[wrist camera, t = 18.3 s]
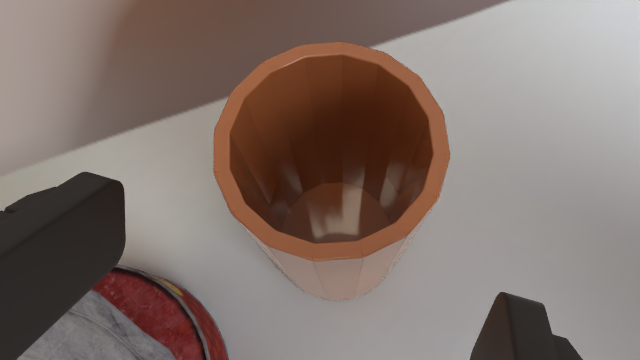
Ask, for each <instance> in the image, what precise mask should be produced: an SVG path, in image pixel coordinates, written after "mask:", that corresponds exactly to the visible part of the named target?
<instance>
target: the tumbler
mask: <svg viewBox="0 0 640 360" xmlns="http://www.w3.org/2000/svg"><path fill="white" fill-rule="evenodd" d="M449 160H450V150H449V144H448V137H447V131H446V125H445V119H444V114H443V112H442V110H441V108H440V107H439V105H438V104H437V102H436V101H435V99H434V98H433V96H432V94H431V93H430V91H429V90H428V88H427V87H426V85H425V84H424V82H423V81H422V79H421V78H420V77H419V76H418V75H417V74H415V73H414V72H412V71H411V70H409V69H408V68H407V67H405V66H404V65H402V64H401V63H400V62H398V61H397V60H395V59H394V58H392V57H391V56H390V55H388V54H387V53H384V52H382V51H378V50H374V49H370V48H367V47H363V46H359V45H355V44H352V43H348V42H331V43H318V44H306V45H302V46H297V47H295V48H293V49H291V50H288V51H286V52H284V53H282V54H280V55H277V56H275V57H273V58H270V59H268V60H266V61H264V62H263V63H261V64H260V65H259V66H257V68H256V69H254V70H253V72H251V73H250V74H249V75H248V76H247V77H246V78H245V79H244V80H243V81H242V82H241V83H240V84H239V85H238V86H237V87H236V88H235V89H234V90H233V91H232V93H231V94H230V96H229V98H228V101H227V103H226V105H225V107H224V109H223V112H222V114H221V116H220V118H219V121H218V123H217V125H216V127H215V131H214V171H213V172H214V176H215V178H216V180H217V183H218V185H219V187H220V190H221V192H222V194H223V196H224V199H225V201H226V203H227V206H228V208H229V210H230V212H231V214H232V215H233V216H234V217H235V219H236V220H237V221H238V222H239V223H240V224H241V225H242V227H243V228H244V229H245V230H246V231H247V232H248V233H249V235H250V236H251V237H252V238H253V239H254V240H255V241H256V242H257V244H258V245H259V246H260V247H261V248H262V249H263V250H264V252H265V253H266V254H267V255H268V256H269V257H270V258H271V260H272V261H273V262H274V263H275V264H276V265H277V266H278V267H279V269H280V270H281V271H282V272H283V273H284V274H285V275H286V276H287V277H288V278H289V279H290V280H291V281H292V282H293V283H294V284H295V285H297V286H298V287H299V288H300V289H301V290H302V291H304V292H306V293H308V294H311V295H313V296H315V297H319V298H322V299H326V300H346V299H351V298H355V297H358V296H360V295H363V294H365V293H367V292H368V291H370V290H372V289H373V288H375V287H376V286H378V285H379V283H380V282H381V281H382V280H383V279H384V278H385V276H386V275H387V274H388V273H389V271H390V270H391V269H392V268H393V266H394V265H395V263H396V262H397V260H398V259H399V257H400V256H401V254H402V253H403V251H404V250H405V248H406V247H407V245H408V244H409V242H410V241H411V239H412V238H413V236H414V235H415V233H416V232H417V230H418V229H419V227H420V226H421V224H422V223H423V221H424V220H425V219H426V217H427V216H428V214H429V213H430V211H431V210H432V208H433V207H434V205H435V204H436V202H437V200H438V198H439V196H440V192H441V189H442V185H443V181H444V178H445V174H446V171H447V167H448V164H449Z"/></svg>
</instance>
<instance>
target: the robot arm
mask: <svg viewBox="0 0 640 360" xmlns="http://www.w3.org/2000/svg"><path fill="white" fill-rule="evenodd" d="M125 239H126V238H125V200H124V188H123V185H122V183H121V182H119V181H117V180H114V179H110V178H107V177H103V176H100V175H96V174H93V173H89V172H82V173H80V174H78V175H76V176H74V177H73V178H71V179H69V180H68V181H66V182H64V183H63V184H61V185H59V186H58V187H53V188H50V189H46V190H43V191H40V192H36V193H33V194H30V195H27V196H25V197H24V198H22V199H20V200H18V201H17V202H15V203H13V204H11V205H10V206H8V207H6V208H5V211H0V360H17V359H18V358H19V357H20V356H21V355H22V354H23V353H24V352H25V351H26V350H27V349H28V348H29V347H30V346H31V345H32V344H34V343H35V342H36V341H37V340H38V339H39V338H40V337H41V336H42V335H43V334H44V333H45V332H46V331H47V330H48V329H49V328H51V327H52V326H53V325H54V324H55V323H56V322H57V321H58V320H59V319H60V318H61V317H62V316H63V315H64V314H65V313H66V312H67V311H69V310H70V309H71V308H72V307H73V306H74V305H75V304H76V303H77V302H78V301H79V300H80V299H81V298H82V297H83V296H84V295H86V294H87V293H88V292H89V291H90V290H91V289H92V288H93V287H94V286H95V285H96V284H97V283H98V282H99V281H100V280H101V279H103V278H104V277H105V276H106V275H107V274H108V273H109V272H110V271H111V270H112V269H113V268H114V267H115V266H116V265H117V263H118V262H119V260H120V258H121V256H122V254H123V251H124V247H125ZM470 360H583V359H582V358H581V357H580V355H579V354H578V353H577V351H576V350H575V349H574V347H573V346H572V345H571V344H570V342H569V341H568V340H567V339H566V338H563V337H560V336H556V335H553V334H552V332H551V328H550V325H549V321H548V317H547V313H546V310H545V307H544V305H543V304H542V303H539V302H536V301H532V300H529V299H525V298H522V297H519V296H515V295H512V294H508V293H505V292H500V293H499V294H498V295H497V297H496V299H495V301H494V303H493V305H492V307H491V310H490V312H489V314H488V316H487V319H486V321H485V323H484V325H483V328H482V330H481V332H480V334H479V337H478V339H477V341H476V343H475V346H474V348H473V351H472V354H471V357H470Z"/></svg>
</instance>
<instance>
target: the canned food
mask: <svg viewBox="0 0 640 360" xmlns="http://www.w3.org/2000/svg"><path fill="white" fill-rule="evenodd" d="M17 360H229V359H228V355H227V351H226V347H225V343H224V340H223V338H222V336H221V334H220V331H219V329H218V327H217V325H216V323H215V321H214V319H213V318H212V317H211V315H210V314H209V313H208V311H207V310H206V309H205V307H204V306H203V305H202V304H201V303H200V302H199V301H198V300H197V299H196V298H195V297H193V296H192V295H191V294H190V293H189V292H188V291H186V290H185V289H183V288H181V287H180V286H178V285H176V284H174V283H172V282H170V281H168V280H166V279H162V278H159V277H155V276H152V275H149V274H147V273H145V272H143V271H140V270H136V269H133V268H129V267H126V266H122V265H116V266H115V267H114V268H113V269H112V270H111V271H110V272H109V273H108V274H107V275H106V276H105V277H104V278H103V279H101V280H100V281H99V282H98V283H97V284H96V285H95V286H94V287H93V288H92V289H91V290H90V291H89V292H88V293H87V294H86V295H84V296H83V297H82V298H81V299H80V300H79V301H78V302H77V303H76V304H75V305H74V306H73V307H72V308H71V309H70V310H69V311H67V312H66V313H65V314H64V315H63V316H62V317H61V318H60V319H59V320H58V321H57V322H56V323H55V324H54V325H53V326H52V327H51V328H49V329H48V330H47V331H46V332H45V333H44V334H43V335H42V336H41V337H40V338H39V339H38V340H37V341H36V342H35V343H34V344H32V345H31V346H30V347H29V348H28V349H27V350H26V351H25V352H24V353H23V354H22V355H21V356H20V357H19V358H18V359H17Z"/></svg>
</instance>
